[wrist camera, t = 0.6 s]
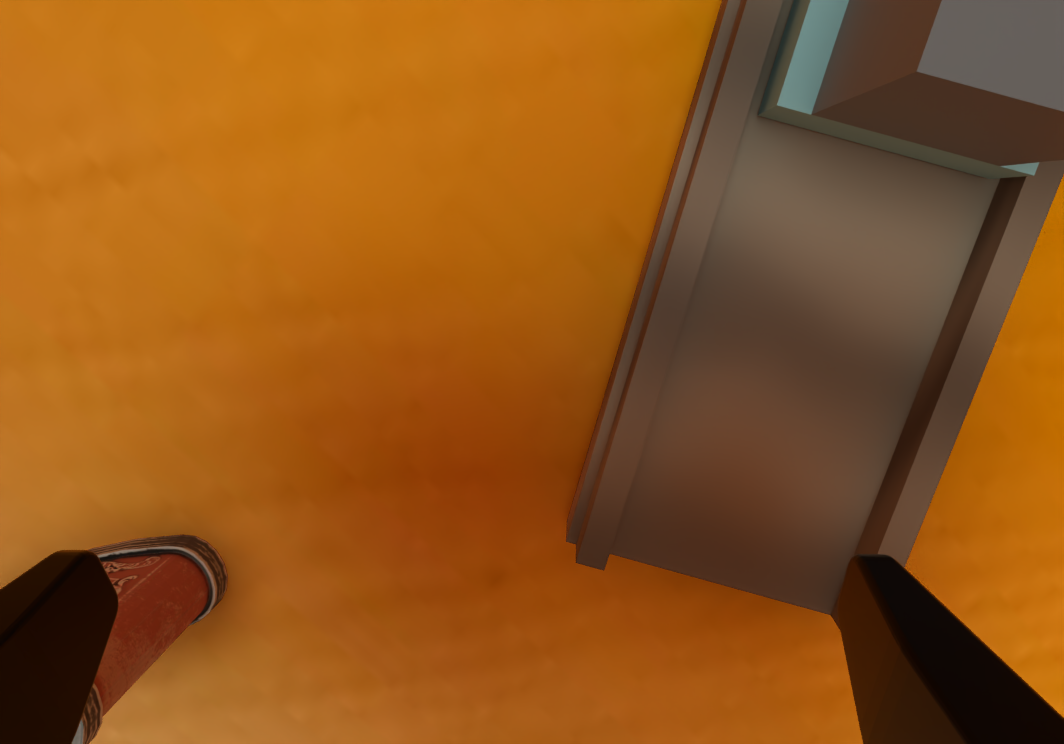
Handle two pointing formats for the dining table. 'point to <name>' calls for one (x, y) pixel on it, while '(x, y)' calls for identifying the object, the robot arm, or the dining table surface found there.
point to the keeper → (928, 79)
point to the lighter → (150, 610)
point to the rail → (795, 342)
